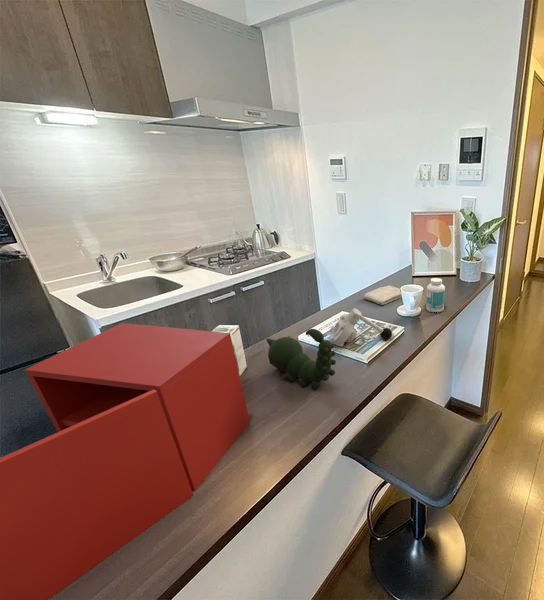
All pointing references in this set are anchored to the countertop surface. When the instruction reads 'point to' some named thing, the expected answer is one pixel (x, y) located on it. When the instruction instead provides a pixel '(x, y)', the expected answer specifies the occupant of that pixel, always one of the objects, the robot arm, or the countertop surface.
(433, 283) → the pill bottle
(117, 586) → the countertop surface
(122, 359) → the red cupboard
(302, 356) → the toy figurine
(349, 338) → the mechanical valve
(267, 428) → the countertop surface
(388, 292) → the washcloth
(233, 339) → the syrup box
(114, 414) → the door
